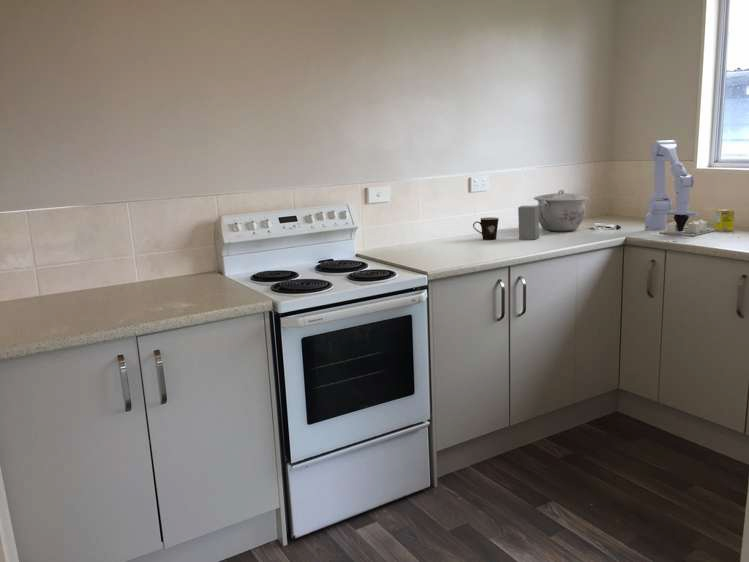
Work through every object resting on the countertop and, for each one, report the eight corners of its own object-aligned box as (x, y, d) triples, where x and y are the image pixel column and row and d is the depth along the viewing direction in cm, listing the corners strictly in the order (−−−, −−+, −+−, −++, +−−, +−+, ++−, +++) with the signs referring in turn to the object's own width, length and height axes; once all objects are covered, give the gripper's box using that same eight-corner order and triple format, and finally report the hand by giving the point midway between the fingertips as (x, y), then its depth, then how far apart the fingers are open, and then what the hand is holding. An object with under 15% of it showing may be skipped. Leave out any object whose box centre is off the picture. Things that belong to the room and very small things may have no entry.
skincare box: (539, 238, 318) (539, 205, 315) (534, 240, 312) (535, 206, 309) (521, 237, 322) (522, 204, 319) (517, 239, 316) (517, 206, 313)
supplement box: (732, 233, 313) (734, 210, 311) (719, 234, 314) (721, 211, 311) (726, 232, 319) (728, 209, 317) (713, 232, 319) (715, 209, 317)
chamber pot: (577, 225, 357) (578, 186, 352) (595, 232, 330) (597, 190, 325) (525, 227, 356) (526, 188, 352) (539, 234, 329) (540, 192, 325)
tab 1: (666, 233, 311) (667, 222, 310) (670, 232, 314) (671, 221, 312) (674, 234, 308) (675, 222, 307) (678, 233, 310) (679, 222, 309)
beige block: (687, 232, 311) (687, 221, 309) (691, 231, 313) (691, 220, 312) (695, 233, 308) (696, 222, 306) (699, 232, 310) (700, 221, 309)
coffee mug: (499, 238, 322) (499, 217, 320) (496, 240, 314) (497, 219, 312) (475, 237, 326) (475, 217, 324) (472, 240, 318) (472, 219, 316)
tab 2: (693, 231, 315) (694, 220, 314) (697, 230, 317) (698, 219, 316) (702, 231, 312) (703, 220, 311) (706, 230, 314) (707, 220, 313)
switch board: (658, 236, 311) (659, 232, 311) (682, 231, 326) (683, 226, 326) (693, 240, 299) (693, 235, 299) (716, 233, 314) (716, 229, 314)
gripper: (662, 201, 308) (660, 230, 311) (694, 203, 297) (692, 233, 300) (670, 200, 312) (668, 229, 315) (701, 202, 301) (699, 231, 304)
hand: (680, 231), depth 308 cm, fingers closed
